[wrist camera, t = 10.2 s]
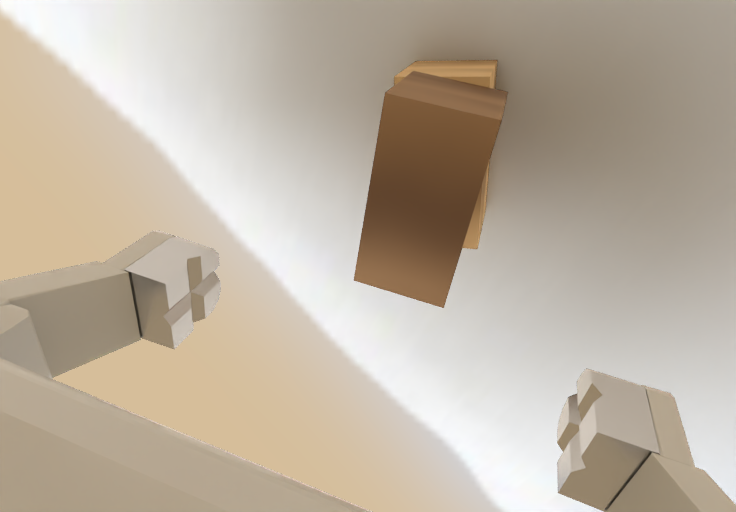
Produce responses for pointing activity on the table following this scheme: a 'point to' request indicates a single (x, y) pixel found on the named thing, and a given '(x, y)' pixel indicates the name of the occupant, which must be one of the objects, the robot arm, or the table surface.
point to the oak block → (473, 74)
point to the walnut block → (426, 183)
